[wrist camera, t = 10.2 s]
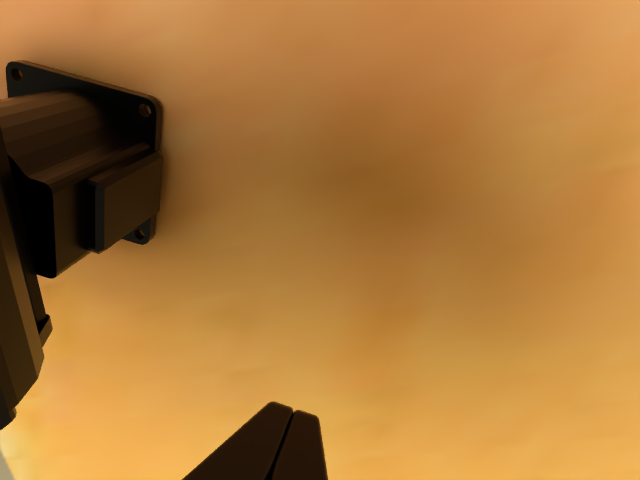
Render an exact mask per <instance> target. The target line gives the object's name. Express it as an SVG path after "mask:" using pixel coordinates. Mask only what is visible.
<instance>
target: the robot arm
mask: <svg viewBox="0 0 640 480" xmlns="http://www.w3.org/2000/svg"><path fill="white" fill-rule="evenodd" d="M19 70H20V71H21V72H22V75H23V79H22V77H21V76H20V74H19ZM6 80H7V91H8V98H7V99H2V100H0V430H2V429H3V428H4V427H6V426H7V425H8V424H9V423H11V422H12V421H13V419H14V418H15V417H16V413H17V412H16V409H15V406H16V405H17V404H18V403H19V402H20V401H21V400H22V398H23V397H24V396H25V394H26V393H27V392H28V391H29V389H30V388H31V387H32V385H33V384H34V383H35V382H36V380H37V379H38V376H39V373H40V370H41V366H42V363H43V360H44V353H43V349H42V347H43V346H44V344H45V342H46V340H47V339H48V337H49V335H50V333H51V332H52V329H53V328H52V323H51V319H50V316H49V315H48V314H46V313H45V309H44V304H43V300H42V296H41V292H40V288H39V284H38V279H37V275H41V276H44V277H47V278H55V277H56V276H58V275H59V274H60V273H62V272H63V271H65V270H66V269H68V268H69V267H70V266H72V265H73V264H75V263H76V262H77V261H79V260H80V259H82V258H83V257H85V256H86V255H87V254H89V253H90V252H93V253H97V254H99V253H102V252H103V251H105V250H106V249H108V248H109V247H111V246H112V245H113V244H115V243H116V242H117V241H119V240H120V239H124V240H127V241H131V242H134V243H137V244H142V245H143V244H147V243H148V242H149V241H150V240H151V239H152V238H153V237H154V234H155V220H156V213H157V212H159V210H160V197H161V182H162V166H163V157H162V155H161V153H160V137H161V120H162V108H161V105H160V103H159V102H158V100H157V99H156V98H154V97H152V96H149V95H145V94H142V93H138V92H135V91H131V90H127V89H124V88H120V87H117V86H113V85H109V84H106V83H102V82H99V81H95V80H91V79H88V78H84V77H81V76H77V75H74V74H70V73H66V72H63V71H59V70H56V69H52V68H48V67H45V66H41V65H38V64H34V63H30V62H27V61H20V60H19V61H12V62H10V63H8V65H7V66H6ZM145 104H146V105H148V106H149V108H150V110H151V114H150V115H149V114H147V113H146V111H145V109H144V106H145ZM139 229H140V230H142V231H143V232H144V234H145V236H144V235H142V234H141V233H140V232H139ZM36 274H37V275H36ZM182 480H328V476H327V469H326V462H325V455H324V449H323V442H322V435H321V428H320V422H319V419H318V417H317V416H315V415H313V414H310V413H307V412H304V411H301V410H296V411H295V412H294V413H293V409H292V408H291V407H289V406H286V405H283V404H280V403H277V402H270V403H268V404H267V405H266V406H264V407H263V408H262V409H261V410H260V411H259V412H258V413H257V414H255V415H254V416H253V417H252V418H251V419H250V420H249V421H247V422H246V423H245V424H244V425H243V426H242V427H241V428H240V429H238V430H237V431H236V432H235V433H234V434H233V435H232V436H231V437H229V438H228V439H227V440H226V441H225V442H224V443H223V444H222V445H220V446H219V447H218V448H217V449H216V450H215V451H214V452H213V453H211V454H210V455H209V456H208V457H207V458H206V459H205V460H204V461H202V462H201V463H200V464H199V465H198V466H197V467H196V468H194V469H193V470H192V471H191V472H190V473H189V474H188V475H187V476H185V477H184V478H183V479H182Z"/></svg>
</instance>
